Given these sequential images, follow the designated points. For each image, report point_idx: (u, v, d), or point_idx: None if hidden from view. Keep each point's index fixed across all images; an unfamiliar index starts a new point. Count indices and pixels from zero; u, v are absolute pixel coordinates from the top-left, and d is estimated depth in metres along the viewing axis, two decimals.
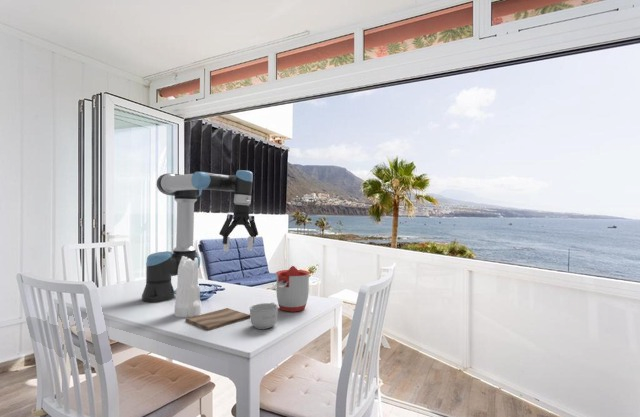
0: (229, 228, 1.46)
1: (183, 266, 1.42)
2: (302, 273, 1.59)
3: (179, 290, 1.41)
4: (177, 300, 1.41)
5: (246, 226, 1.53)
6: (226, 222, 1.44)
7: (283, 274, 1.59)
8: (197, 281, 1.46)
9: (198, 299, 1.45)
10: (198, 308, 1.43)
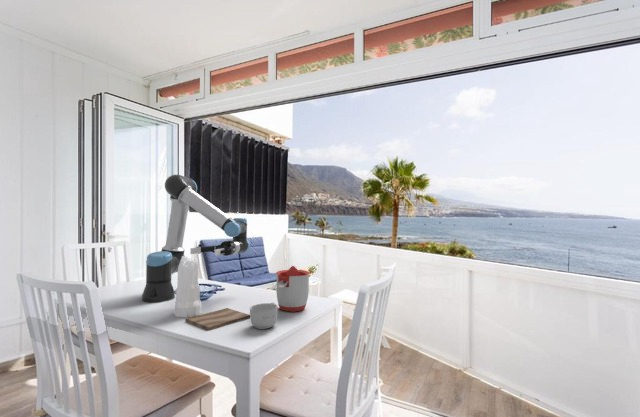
0: None
1: (183, 266, 1.42)
2: (302, 273, 1.59)
3: (179, 290, 1.41)
4: (177, 300, 1.41)
5: (212, 249, 1.66)
6: None
7: (283, 274, 1.59)
8: (197, 281, 1.46)
9: (198, 299, 1.45)
10: (198, 308, 1.43)
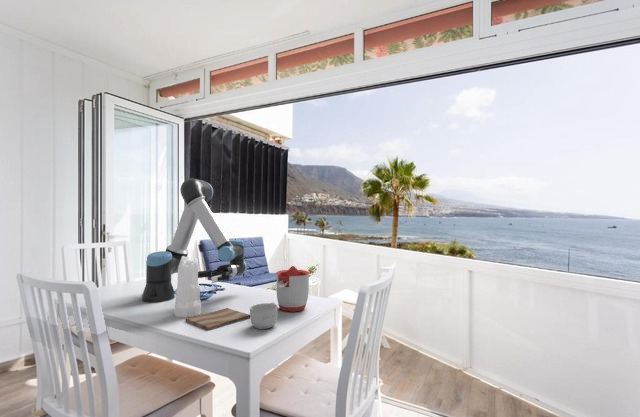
0: None
1: (183, 266, 1.42)
2: (302, 273, 1.59)
3: (179, 290, 1.41)
4: (177, 300, 1.41)
5: (208, 274, 1.63)
6: (230, 275, 1.61)
7: (283, 274, 1.59)
8: (197, 281, 1.46)
9: (198, 299, 1.45)
10: (198, 308, 1.43)
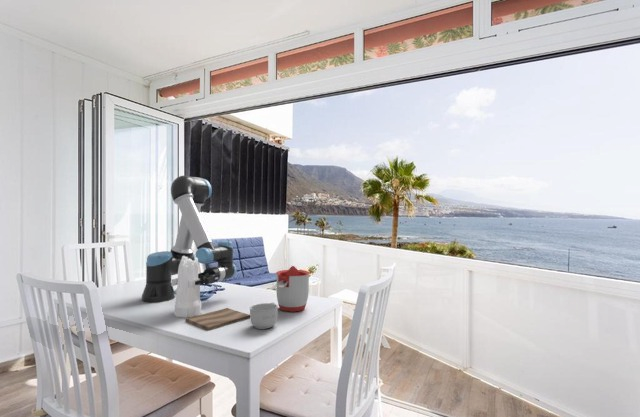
0: None
1: (183, 266, 1.42)
2: (302, 273, 1.59)
3: (179, 290, 1.41)
4: (177, 299, 1.41)
5: None
6: (213, 279, 1.51)
7: (283, 274, 1.59)
8: None
9: (198, 299, 1.45)
10: (198, 308, 1.43)
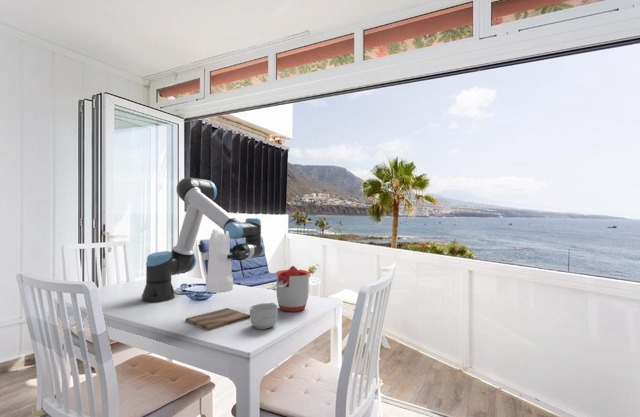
0: None
1: (215, 239, 1.35)
2: (302, 273, 1.59)
3: (211, 264, 1.34)
4: (208, 274, 1.34)
5: None
6: (244, 254, 1.43)
7: (283, 274, 1.59)
8: None
9: (230, 274, 1.38)
10: (230, 283, 1.36)
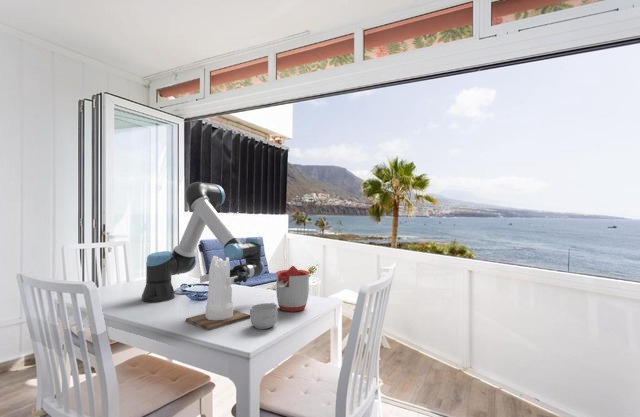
0: None
1: (215, 266, 1.35)
2: (302, 273, 1.59)
3: (211, 291, 1.34)
4: (208, 301, 1.34)
5: None
6: (247, 276, 1.44)
7: (283, 274, 1.59)
8: None
9: (230, 301, 1.38)
10: (230, 310, 1.36)
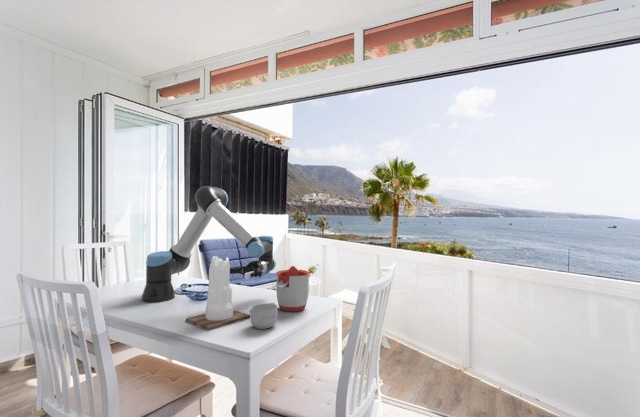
0: None
1: (215, 266, 1.34)
2: (302, 273, 1.59)
3: (211, 292, 1.34)
4: (208, 302, 1.34)
5: (239, 271, 1.58)
6: None
7: (283, 274, 1.59)
8: (229, 282, 1.38)
9: (230, 301, 1.38)
10: (230, 311, 1.36)
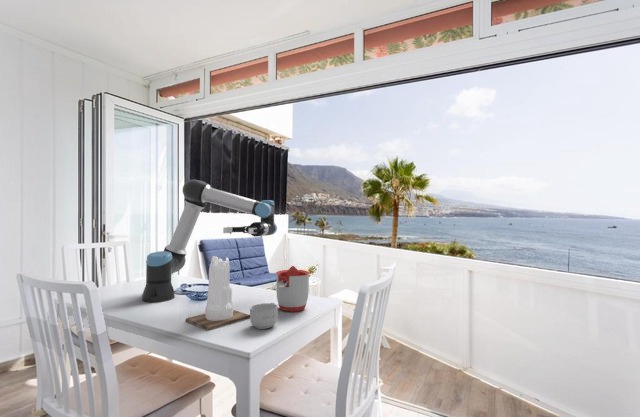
0: None
1: (215, 266, 1.34)
2: (302, 273, 1.59)
3: (211, 292, 1.34)
4: (208, 302, 1.34)
5: (242, 229, 1.67)
6: None
7: (283, 274, 1.59)
8: (229, 282, 1.38)
9: (230, 301, 1.38)
10: (230, 311, 1.36)
